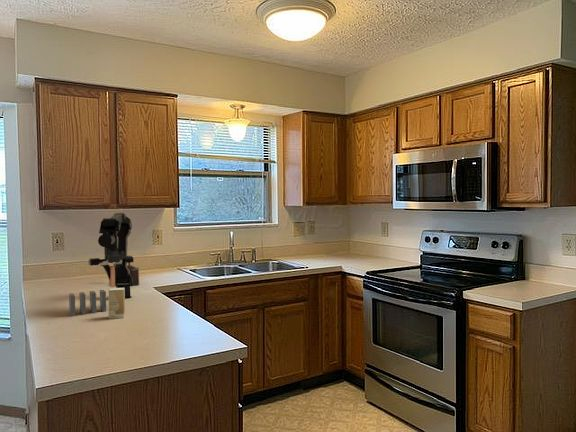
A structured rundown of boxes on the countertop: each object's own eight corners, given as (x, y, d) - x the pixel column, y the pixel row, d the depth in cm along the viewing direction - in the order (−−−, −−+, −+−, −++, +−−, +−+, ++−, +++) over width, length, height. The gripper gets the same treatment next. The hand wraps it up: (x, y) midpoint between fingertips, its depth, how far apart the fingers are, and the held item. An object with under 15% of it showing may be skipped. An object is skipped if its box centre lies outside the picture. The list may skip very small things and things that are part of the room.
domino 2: (83, 311, 199) (83, 292, 199) (85, 314, 195) (85, 293, 195) (80, 312, 198) (79, 292, 198) (82, 314, 194) (81, 294, 194)
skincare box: (108, 319, 187) (107, 290, 186) (109, 316, 191) (108, 288, 190) (124, 317, 188) (123, 289, 188) (125, 315, 193) (124, 287, 192)
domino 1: (73, 313, 197) (72, 293, 197) (75, 315, 193) (74, 295, 192) (69, 314, 196) (68, 293, 196) (71, 316, 192) (70, 295, 192)
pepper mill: (139, 282, 270) (139, 252, 270) (138, 285, 260) (137, 254, 259) (112, 283, 266) (111, 254, 266) (110, 287, 256) (109, 256, 255)
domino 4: (104, 309, 204) (103, 289, 204) (106, 311, 200) (105, 291, 200) (100, 309, 203) (99, 290, 203) (102, 311, 199) (102, 291, 199)
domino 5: (112, 285, 208) (112, 265, 207) (115, 286, 203) (114, 267, 203) (109, 285, 207) (108, 266, 206) (111, 287, 202) (111, 267, 202)
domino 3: (94, 310, 202) (93, 290, 201) (96, 312, 198) (95, 292, 197) (90, 311, 201) (89, 291, 200) (92, 313, 197) (91, 293, 196)
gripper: (92, 247, 193) (93, 283, 194) (136, 245, 203) (137, 279, 204) (87, 246, 203) (88, 280, 203) (130, 243, 213) (130, 276, 213)
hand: (111, 279), depth 205 cm, fingers closed on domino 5, 2 cm apart
